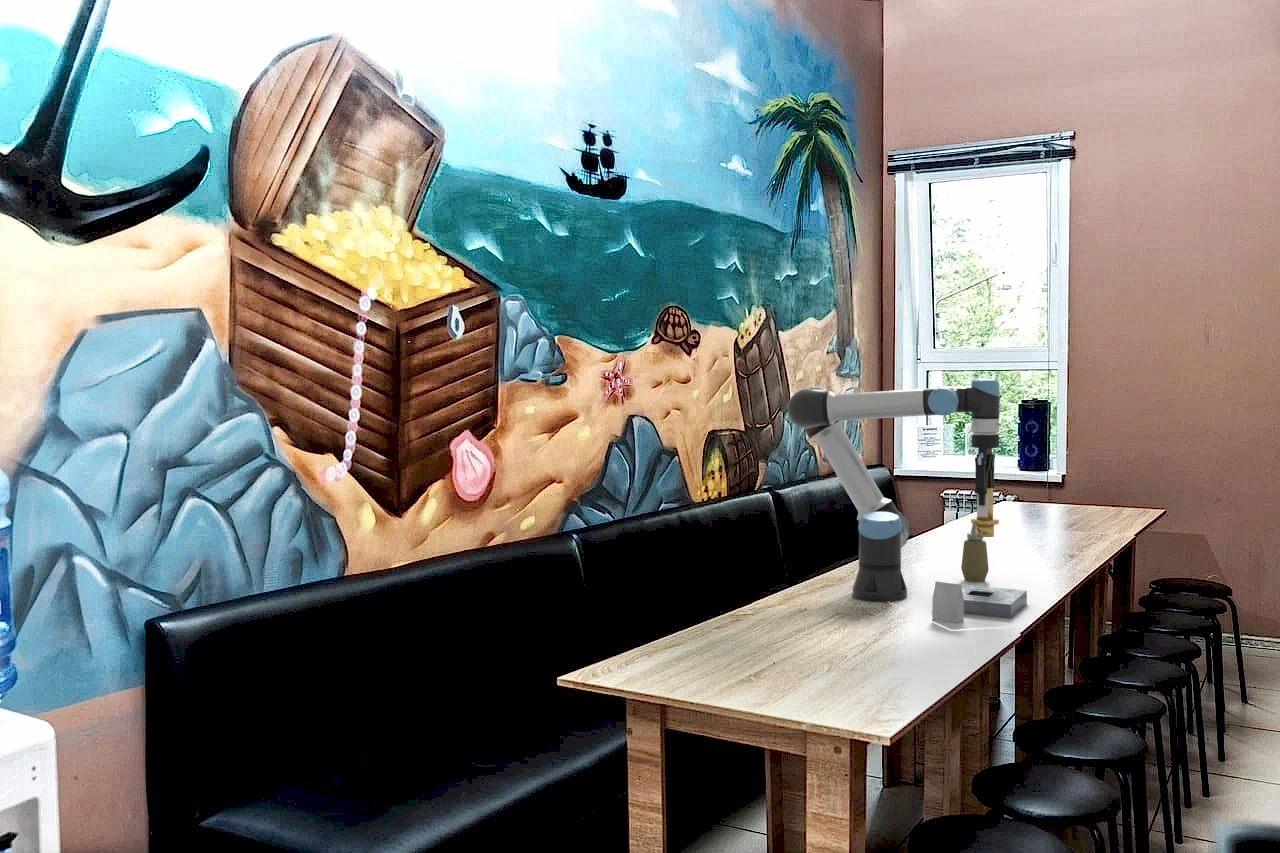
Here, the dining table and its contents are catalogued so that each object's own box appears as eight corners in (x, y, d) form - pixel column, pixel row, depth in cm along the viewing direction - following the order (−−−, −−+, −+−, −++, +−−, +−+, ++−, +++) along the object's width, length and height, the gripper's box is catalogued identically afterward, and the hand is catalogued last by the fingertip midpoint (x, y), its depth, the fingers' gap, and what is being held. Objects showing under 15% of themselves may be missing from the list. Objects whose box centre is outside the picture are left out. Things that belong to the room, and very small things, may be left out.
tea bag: (957, 625, 274) (957, 585, 273) (932, 621, 278) (932, 582, 278) (963, 622, 277) (963, 583, 276) (938, 618, 281) (938, 580, 280)
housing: (1010, 620, 278) (1010, 604, 278) (932, 611, 288) (932, 596, 288) (1026, 605, 295) (1026, 590, 295) (952, 597, 306) (952, 583, 305)
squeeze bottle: (958, 581, 328) (958, 522, 327) (963, 577, 335) (964, 519, 334) (986, 584, 324) (986, 524, 323) (990, 579, 331) (991, 520, 330)
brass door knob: (979, 538, 305) (980, 490, 304) (965, 534, 312) (966, 487, 311) (1004, 537, 306) (1004, 489, 305) (989, 533, 314) (990, 486, 313)
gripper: (991, 435, 298) (990, 520, 299) (1005, 432, 313) (1005, 512, 314) (963, 435, 302) (963, 518, 303) (979, 431, 317) (978, 511, 318)
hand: (984, 515), depth 309 cm, fingers closed on brass door knob, 4 cm apart
